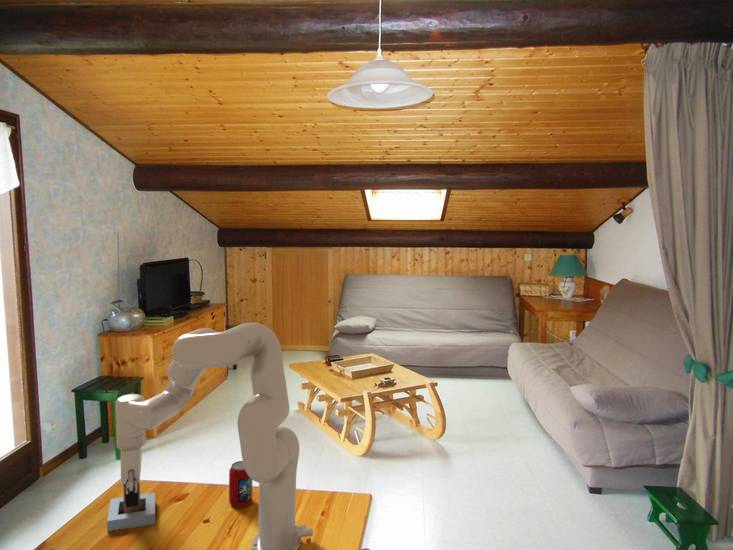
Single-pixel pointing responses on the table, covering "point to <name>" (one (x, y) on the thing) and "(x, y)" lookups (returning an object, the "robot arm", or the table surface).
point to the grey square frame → (133, 518)
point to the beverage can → (239, 485)
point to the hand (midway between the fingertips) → (133, 497)
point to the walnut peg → (134, 508)
